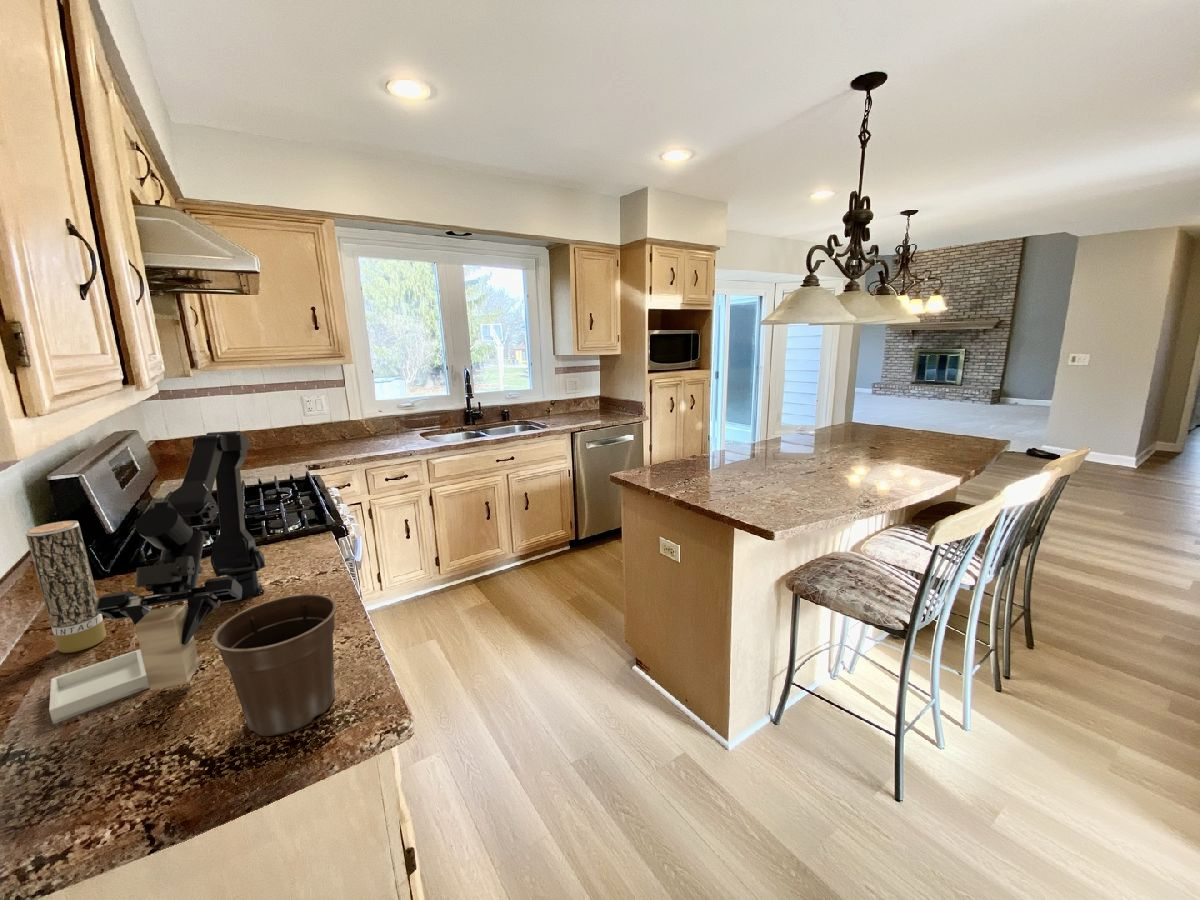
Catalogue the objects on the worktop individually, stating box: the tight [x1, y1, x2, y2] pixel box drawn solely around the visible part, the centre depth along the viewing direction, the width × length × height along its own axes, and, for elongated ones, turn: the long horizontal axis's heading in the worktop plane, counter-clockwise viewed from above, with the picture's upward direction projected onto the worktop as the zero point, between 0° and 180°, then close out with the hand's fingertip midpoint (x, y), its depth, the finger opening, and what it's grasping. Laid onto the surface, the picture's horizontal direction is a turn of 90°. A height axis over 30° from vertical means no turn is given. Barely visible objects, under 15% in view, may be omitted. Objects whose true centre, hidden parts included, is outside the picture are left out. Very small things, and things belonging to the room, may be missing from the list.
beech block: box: [134, 603, 201, 691], centre depth 81 cm, size 5×5×12 cm
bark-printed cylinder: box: [25, 520, 107, 654], centre depth 94 cm, size 7×7×25 cm
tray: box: [48, 648, 150, 725], centre depth 83 cm, size 11×11×2 cm
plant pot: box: [211, 593, 338, 737], centre depth 77 cm, size 16×16×16 cm
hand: (164, 647), depth 80 cm, fingers closed on beech block, 5 cm apart
